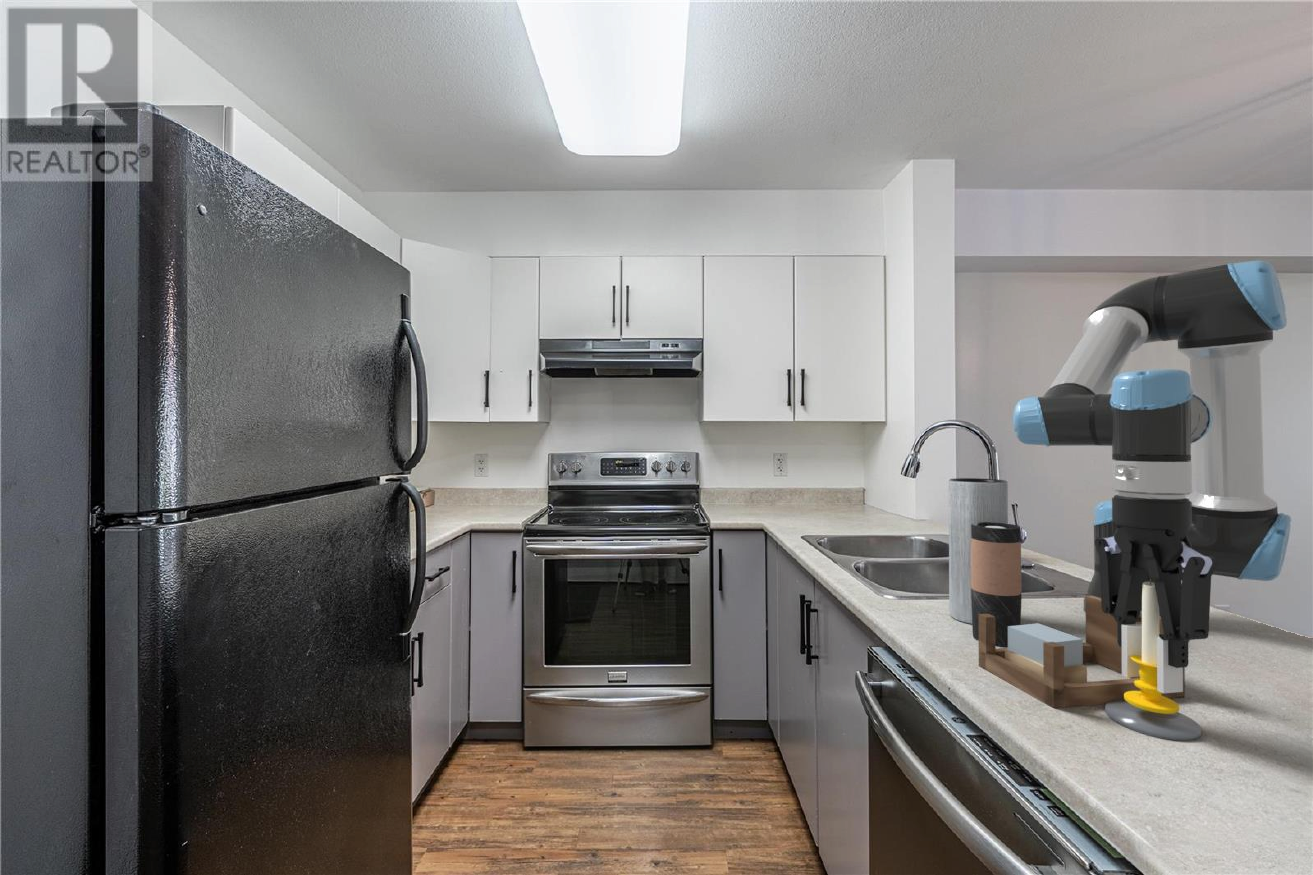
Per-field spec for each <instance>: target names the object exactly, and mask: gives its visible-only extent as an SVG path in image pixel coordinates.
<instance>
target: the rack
mask: <svg viewBox="0 0 1313 875" xmlns="http://www.w3.org/2000/svg"><path fill="white" fill-rule="evenodd" d="M1085 596H1086V595H1085ZM1112 603H1113V604H1114V602H1112ZM1140 617H1141V618H1142V611H1141V612H1140ZM1136 624H1142V622H1136ZM1176 629H1177V628H1176ZM1159 634H1164V632H1163V626H1162V621H1161V616H1159ZM1117 635H1118V634H1117V621H1116V620H1115V618H1114V617H1113V616H1112V615H1110V614H1106V613H1104V612H1103V611H1102V607H1101V598H1098V597H1095V596H1086V612H1085V642H1083V663H1089V662H1090V663H1092V662H1093V663H1094V664H1098V665H1099V666H1102V667H1104V668H1107V669H1109V670H1111V671H1113V672H1116V673H1119V674H1121V675H1122V647H1120V646H1119V645H1118V642H1117V638H1118V637H1117ZM996 647H997V646H996V644H995V617H994V616H992V615H990V614H979V641H978V666H979V667H980V668H982V669H983V670H985V671H987V672H989V673H991V674H993V675H994V676H996V677H998V678H999V679H1001V680H1003V681H1005V682H1006V683H1008V684H1010V685H1012V686H1013V687H1016V688H1018V689H1019V690H1021V691H1023V692H1024V693H1026V694H1028V695H1030V696H1032V697H1033V698H1035V699H1037V700H1039V701H1040V702H1042V703H1044V704H1046V705H1048V706H1049V707H1051V708H1052V709H1057V708H1070V707H1082V706H1094V705H1106V704H1107V703H1108V702H1111V701H1116V700H1125V699H1124V693H1125V692H1128V691H1140V690H1141V689H1140V688H1138V687H1136V686H1135V685H1134V681H1135V680H1137V679H1140V677H1130V678H1122V679H1108V680H1106V679H1105V680H1095V681H1087V682H1079V683H1065V684H1064V646H1063V645H1060V644H1058V643H1056V642H1043V671H1044V679H1043V678H1041V677H1039V676H1037V675H1035V674H1033V673H1031V672H1029V671H1027V670H1025V669H1023V668H1021V667H1019V666H1017V665H1015V664H1013V663H1012V662H1010V661H1008V660H1006V659H1005V648H1006V647H1003V648H1002V647H1000V648H996ZM1185 668H1186V667H1183V692H1175V693H1161V695H1162V696H1164V697H1166V698H1169V699H1171V700H1172V699H1182V698H1185V697H1186V696H1185V695H1186V693H1185V692H1186V690H1185V689H1186V688H1185V687H1186V686H1185V685H1186V683H1185V682H1186V681H1185V680H1186V678H1185V674H1186V673H1185V671H1186V669H1185Z"/></svg>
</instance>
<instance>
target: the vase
mask: <svg viewBox="0 0 1313 875" xmlns="http://www.w3.org/2000/svg"><path fill="white" fill-rule="evenodd" d="M1008 486H1009V485H1008V481H1007V480H1004V479H999V478H998V479H995V478H979V477H975V478H974V477H973V478H972V477H971V478H970V477H968V478H967V477H965V478H964V477H962V478H961V477H960V478H959V477H958V478H950V479H949V480H948V592H949V594H948V601H949V602H948V606H949V607H948V610H949V616H950V617H951V618H953V619H954V620H956V621H959V622H962V623H965V624H970V625H972V604H971V524H973V525H977V524H978V523H980V522H994V523H1006V524H1009V520H1008V519H1009V518H1008V517H1009V516H1008V515H1009V514H1008V513H1009V512H1008V511H1009V510H1008V508H1009V506H1008V502H1009V501H1008V498H1009V496H1008V495H1009V494H1008V490H1009V489H1008V488H1009V487H1008Z"/></svg>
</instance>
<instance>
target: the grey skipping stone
mask: <svg viewBox="0 0 1313 875" xmlns="http://www.w3.org/2000/svg"><path fill="white" fill-rule="evenodd" d="M1104 711H1105V714H1106V716H1107V717H1108V718H1109V719H1110V720H1112V721H1113V722H1115V723H1117V724H1118V725H1120V726H1122V727H1125V728H1127V729H1129V730H1131V731H1134V732H1137V733H1140V734H1144V735H1147V736H1150V737H1154V738H1159V739H1164V740H1165V739H1166V740H1171V741H1180V742H1181V741H1183V742H1184V741H1194V740H1197V739H1200V737H1201V735H1202V727H1201V725H1200V724H1199V723H1198V722H1197V721H1195V720H1194V719H1193V718H1191V717H1189V716H1187V715H1185V714H1183V713H1180V712H1179V711H1178V712H1177V713H1174V714H1162V713H1155V712H1151V711H1147V710H1143V709H1140V708H1138V707H1135V706H1133V705H1131V704H1129V703H1128V702H1127V701H1126V700H1116V701H1111V702H1108V703H1107V704H1105V710H1104Z"/></svg>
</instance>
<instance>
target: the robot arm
mask: <svg viewBox="0 0 1313 875" xmlns="http://www.w3.org/2000/svg"><path fill="white" fill-rule="evenodd" d="M1286 326H1287V314H1286V304H1285V300H1284V296H1283V291H1282V288H1281V284H1280V280H1279V278H1278V274H1277V272H1276V270H1275V268H1274V266H1273V264H1271V263H1270V262H1268V261H1265V260H1252V261H1251V260H1250V261H1241V262H1234V263H1233V262H1230V263H1227V264H1222V265H1217V266H1211V267H1206V268H1199V269H1194V270H1189V271H1183V272H1178V273H1173V274H1168V275H1167V274H1166V275H1160V276H1154V277H1149V278H1147V279H1143V280H1139V281H1137V282H1135V283H1132V284H1130V285H1128V286H1126V287H1125V288H1123V289H1121V290H1119V291H1117V292H1115V293H1114V294H1113V295H1111V296H1110V297H1108V298H1106V299H1105V300H1104V301H1102V302H1101V303H1100V304H1099V305H1098V306H1097V307H1096V308H1094V310H1093V311H1091V313H1090V314H1089V315H1088V317H1087V318H1086V320H1085V321H1084V323H1083V324H1082V328H1081V329H1082V330H1081V335H1082V337H1081V339H1080V340H1079V342H1078V343H1077V345H1076V346H1075V348H1074V350H1073V351H1072V352H1071V354H1070V356H1069V357H1068V359H1067V360H1066V361H1065V363H1064V365H1063V367H1062V368H1061V369H1060V371H1059V373H1057V376H1056V377H1055V379H1054V380H1053V382H1052V383H1051V384H1050V386H1049V388H1048V389H1047V391H1046V392H1045V393H1044V395H1043V396H1036V395H1035V396H1033V397H1027V398H1026V397H1025V398H1022V399H1020V400H1018V402H1017V403H1016V405H1015V407H1014V411H1013V416H1012V418H1013V420H1012V422H1013V429H1014V432H1015V436H1016V437H1017V438H1016V439H1018V441H1019V442H1020V443H1022V444H1025V445H1033V446H1046V447H1051V446H1056V447H1057V446H1059V447H1061V446H1064V447H1065V446H1067V447H1069V446H1071V447H1073V446H1083V447H1084V446H1098V447H1099V446H1102V447H1107V446H1108V447H1109V446H1111V451H1112V452H1111V457H1112V460H1111V463H1112V464H1111V472H1112V473H1111V474H1112V475H1111V476H1112V478H1111V480H1112V486H1111V487H1112V490H1114V491H1115V492H1117V494H1114V495H1113V497H1111V499H1110V500H1105V501H1101V502H1100V503H1098V504H1097V505H1096V506H1095V508H1094V515H1093V516H1094V519H1093V520H1094V521H1093V523H1092V526H1093V552H1094V553H1093V556H1094V558H1093V561H1094V566H1093V567H1094V569H1093V570H1094V571H1093V572H1094V573H1093V576H1092V579H1091V580H1090V584H1089V586H1088V590H1087V593H1086V595H1084V598H1083V612H1085V613H1086V596H1095V597H1098V598H1101V607H1102V611H1103V612H1104V613H1106V614H1110V615H1112V616H1113V617H1114V618H1115V620H1116V621H1117V634H1118V635H1117V637H1118V638H1117V642H1118V645H1119V646H1120V647H1122V674H1121V676H1123V677H1125V678H1126V679H1131V678H1130V677H1140V675H1139V670H1140V667H1139V663H1137V662H1135V661H1133V660H1132V659H1131V656H1134V655H1142V624H1136V622H1142V618H1141V617H1140V612H1141V611H1142V587H1143V582H1150V579H1151V582H1154V584H1155V590H1156V595H1157V600H1158V605H1159V616H1161V621H1162V626H1163V632H1164V634H1159V637H1157V691H1159V692H1161V693H1175V692H1183V667H1185V668H1187V667H1188V666H1189V643H1190V641H1193V640H1195V641H1196V640H1206V639H1208V638H1209V632H1210V629H1209V628H1210V612H1211V611H1210V610H1211V609H1210V608H1211V593H1212V592H1211V590H1212V589H1211V588H1212V576H1221V577H1228V578H1235V579H1237V580H1240V581H1241V580H1243V579H1244V580H1251V581H1252V580H1254V581H1262V582H1268V581H1273V580H1275V579H1277V578H1278V577H1279V575H1281V571H1282V569H1283V566H1284V561H1285V557H1286V553H1287V547H1288V543H1289V538H1290V533H1291V532H1290V531H1291V522H1292V518H1291V516H1290V515H1288V514H1285V513H1284V512H1283V513H1282V512H1280V513H1278V503H1277V501H1275V500H1274V499H1273V498H1271V497H1270V496H1268V495H1267V494H1266V493H1265V483H1264V481H1265V478H1264V452H1263V451H1264V449H1263V448H1264V447H1263V446H1264V443H1263V441H1264V440H1263V416H1262V415H1263V413H1262V411H1263V410H1262V409H1263V408H1262V378H1261V377H1262V376H1261V375H1262V374H1261V352H1262V351H1263V350H1265V349H1266V348H1267V347H1268V346H1269V345H1271V344H1272V343H1273V342H1274V331H1279V330H1282V329H1285V327H1286ZM1167 341H1177V351H1178V352H1179V353H1181V354H1183V355H1184V356H1186V357H1188V359H1189V366H1190V368H1189V370H1190V374H1189V373H1188V372H1187V371H1186V370H1183V369H1173V368H1172V369H1149V370H1146V369H1145V370H1137V371H1129V372H1128V371H1127V372H1123V373H1121V371H1122V370H1123V369H1124V366H1125V365H1126V362H1127V361H1128V359H1129V357H1130V355H1131V353H1133V352H1135V351H1136V350H1138V349H1139V348H1141V347H1142V346H1143V345H1144V344H1147V343H1149V344H1150V343H1154V342H1167ZM1110 391H1111V393H1110ZM1192 445H1193V467H1192V454H1191V451H1192V449H1191V448H1192V447H1191V446H1192ZM1192 468H1193V469H1192ZM1192 471H1193V473H1194V474H1193V473H1192ZM1192 474H1193V475H1194V491H1193V481H1192V480H1193V477H1192V476H1193V475H1192ZM1186 495H1187V496H1186ZM1185 496H1186V497H1185ZM1112 602H1114V604H1113V603H1112ZM1176 628H1177V629H1176Z"/></svg>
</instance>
